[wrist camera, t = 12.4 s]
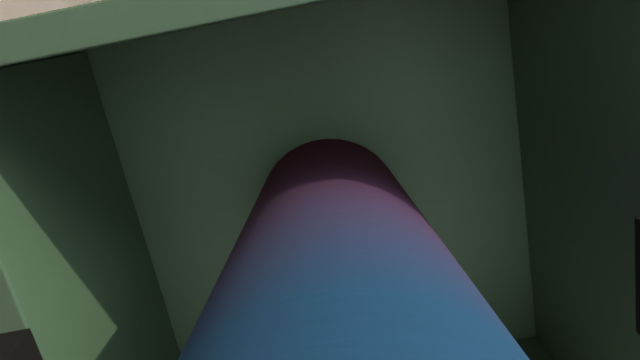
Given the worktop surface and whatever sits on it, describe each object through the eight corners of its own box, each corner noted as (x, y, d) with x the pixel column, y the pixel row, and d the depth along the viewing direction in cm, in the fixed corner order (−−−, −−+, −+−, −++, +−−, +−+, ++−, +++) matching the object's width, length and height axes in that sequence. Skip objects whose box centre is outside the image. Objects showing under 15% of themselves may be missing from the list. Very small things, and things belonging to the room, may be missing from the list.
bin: (68, 29, 19) (-129, 47, 11) (515, -62, 19) (690, -121, 10) (185, 396, 24) (114, 616, 15) (547, 334, 23) (685, 527, 15)
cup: (265, 305, 21) (169, 903, 7) (213, 138, 19) (-64, 507, 5) (437, 266, 21) (703, 817, 7) (403, 92, 19) (677, 350, 5)
